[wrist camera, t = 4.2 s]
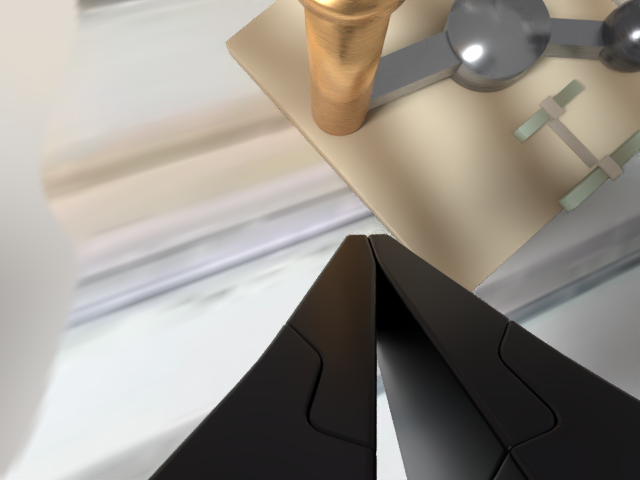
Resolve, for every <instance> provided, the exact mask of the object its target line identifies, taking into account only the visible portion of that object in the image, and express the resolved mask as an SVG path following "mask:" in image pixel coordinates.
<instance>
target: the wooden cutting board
mask: <svg viewBox="0 0 640 480" xmlns="http://www.w3.org/2000/svg"><path fill="white" fill-rule="evenodd" d="M542 1H543V2H544V4H545V5H546V7H547V9H548V12H549V15H550V18H563V19H580V20H597V21H604V20H605V18H606V17H607V16H608V15H609V14H610V13H611V12H612V11H613V10H614V9H616V8H617V7H618V5H617V4H615V3H614V2H613V1H612V0H542ZM454 2H455V0H405V1H404V3H403V4H402V5H401V6H400V7H399V8H398V9H397V10H396V11H394V12H393V13H392V14H391V17H390V21H389V25H388V29H387V33H386V37H385V41H384V46H383V50H382V54H381V57H383V56H386V55H388V54H390V53H393V52H395V51H398V50H400V49H402V48H405V47H407V46H410V45H412V44H414V43H417V42H419V41H422V40H424V39H426V38H429V37H431V36H433V35H436V34H438V33H440V32H441V30H442V27H443V25H444V23H445V21H446V19H447V16H448V14H449V12H450V10H451V8H452V5H453V3H454ZM225 43H226V46H227V48H228V50H229V53H230V55H231V56H232V57H233V58H234V59H235V60H236V61H237V62H238V63H239V65H240V66H241V67H242V68H243V69H244V70H245V71H246V72H247V73H248V75H249V76H250V77H251V78H252V79H253V80H254V81H255V82H256V83H257V85H258V86H259V87H260V88H261V89H262V90H263V91H264V92H265V94H266V95H267V96H268V97H269V98H270V99H271V100H272V101H273V102H274V104H275V105H276V106H277V107H278V108H279V109H280V110H281V111H282V112H283V114H284V115H285V116H286V117H287V118H288V119H289V120H290V121H291V122H292V124H293V125H294V126H295V127H296V128H297V129H298V130H299V131H300V132H301V134H302V135H303V136H304V137H305V138H306V139H307V140H308V141H309V143H310V144H311V145H312V146H313V147H314V148H315V149H316V150H317V151H318V153H319V154H320V155H321V156H322V157H323V158H324V159H325V160H326V161H327V163H328V164H329V165H330V166H331V167H332V168H333V169H334V170H335V171H336V173H337V174H338V175H339V176H340V177H341V178H342V179H343V180H344V181H345V183H346V184H347V185H348V186H349V187H350V188H351V189H352V190H353V191H354V193H355V194H356V195H357V196H358V197H359V198H360V199H361V200H362V202H363V203H364V204H365V205H366V206H367V207H368V208H369V209H370V210H371V212H372V213H373V214H374V215H375V216H376V217H377V218H378V219H379V220H380V222H381V223H382V224H383V225H384V226H385V227H386V228H387V229H388V230H389V232H390V233H391V234H392V235H393V236H394V237H395V238H396V239H397V240H398V242H399V243H401V244H402V245H404V246H405V247H407V248H408V249H409V250H411V251H412V252H414V253H415V254H417V255H418V256H419V257H421V258H422V259H424V260H425V261H427V262H428V263H430V264H431V265H432V266H434V267H435V268H437V269H438V270H440V271H441V272H442V273H444V274H445V275H447V276H448V277H450V278H451V279H453V280H454V281H455V282H457V283H458V284H460V285H461V286H463V287H464V288H465V289H467V290H468V291H470V292H472V291H473V290H474V289H475V288H476V287H477V286H478V285H479V284H480V283H482V282H483V281H484V280H485V279H486V278H487V277H488V276H489V275H490V274H492V273H493V272H494V271H495V270H496V269H497V268H498V267H499V266H500V265H501V264H503V263H504V262H505V261H506V260H507V259H508V258H509V257H510V256H511V255H513V254H514V253H515V252H516V251H517V250H518V249H519V248H520V247H521V246H522V245H524V244H525V243H526V242H527V241H528V240H529V239H530V238H531V237H532V236H534V235H535V234H536V233H537V232H538V231H539V230H540V229H541V228H542V227H543V226H545V225H546V224H547V223H548V222H549V221H550V220H551V219H552V218H553V217H555V216H556V215H557V214H558V213H559V212H560V211H561V210H562V209H564V210H565V211H566V212H567V211H570V210H574V209H575V208H576V207H577V206H578V205H580V204H581V203H582V202H583V201H584V200H585V199H586V198H587V197H588V196H590V195H591V194H592V193H593V192H594V191H595V190H596V189H597V188H598V187H599V186H601V185H602V184H603V183H604V182H605V181H606V180H607V179H608V178H609V177H610V178H611V179H612V180H615V179H616V178H617V177H618V176H620V175H621V174H622V173H623V172H624V171H623V170H622V169H621V168H620V167H621V166H623V165H624V164H625V163H626V162H627V161H628V160H629V159H630V158H631V157H632V156H634V155H635V154H636V153H637V152H638V151H639V150H640V71H639V72H634V73H621V72H616V71H613V70H611V69H609V68H608V67H606V66H605V65H604V64H603V63H602V62H601V61H600V60H592V59H576V58H559V57H542V56H540V57H539V58H538V59H537V60H536V61H535V62H534V64H533V65H532V66H531V67H530V68H529V69H528V70H527V71H526V72H525V73H524V74H523V75H522V76H521V77H520V78H519V79H518V80H517V81H516V82H515V83H514V84H512V85H511V86H509V87H507V88H505V89H503V90H500V91H496V92H489V93H482V92H475V91H471V90H469V89H466V88H464V87H462V86H460V85H458V84H457V83H456V82H454V81H453V80H452V79H451V78H450V77H449V76H448V77H446V78H443V79H441V80H439V81H436V82H434V83H432V84H429V85H427V86H425V87H422V88H420V89H417V90H415V91H413V92H410V93H408V94H406V95H403V96H401V97H399V98H396V99H394V100H391V101H389V102H387V103H384V104H382V105H380V106H377V107H375V108H373V109H370V110H368V111H367V115H366V118H365V121H364V122H363V124H362V125H361V127H360V128H359V129H358V130H356V131H355V132H353V133H351V134H349V135H345V136H333V135H330V134H327V133H325V132H324V131H322V130H321V129H320V128H319V127H318V126H317V125H316V123H315V121H314V119H313V116H312V111H311V97H310V83H309V69H308V55H307V41H306V27H305V13H304V7H303V6H302V5H301V3H300V2H299V1H298V0H277V1H276V2H275V3H273V4H272V5H271V6H270V7H268V8H267V9H266V10H265V11H263V12H262V13H261V14H260V15H258V16H257V17H256V18H255V19H253V20H252V21H251V22H250V23H248V24H247V25H246V26H245V27H244V28H242V29H241V30H240V31H239V32H237V33H236V34H235V35H234V36H232V37H231V38H230V39H229V40H227V41H226V42H225Z"/></svg>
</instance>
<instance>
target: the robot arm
mask: <svg viewBox="0 0 640 480" xmlns="http://www.w3.org/2000/svg"><path fill="white" fill-rule="evenodd" d="M377 359H378V363H379V367H380V371H381V376H382V380H383V384H384V388H385V392H386V396H387V400H388V404H389V408H390V412H391V416H392V420H393V424H394V428H395V432H396V436H397V440H398V444H399V448H400V452H401V456H402V460H403V464H404V468H405V472H406V476H407V480H640V400H638V399H637V398H635V397H633V396H631V395H630V394H628V393H626V392H625V391H623V390H621V389H620V388H618V387H616V386H614V385H613V384H611V383H609V382H608V381H606V380H604V379H603V378H601V377H599V376H598V375H596V374H594V373H593V372H591V371H590V370H588V369H586V368H585V367H583V366H581V365H580V364H578V363H576V362H575V361H573V360H572V359H570V358H568V357H567V356H565V355H563V354H562V353H560V352H559V351H557V350H556V349H554V348H553V347H551V346H550V345H548V344H547V343H545V342H544V341H542V340H541V339H539V338H538V337H536V336H535V335H533V334H532V333H530V332H529V331H527V330H526V329H524V328H523V327H521V326H520V325H519V324H517V323H516V322H514V321H510V322H509V319H508V318H507V317H506V316H504V315H503V314H501V313H500V312H499V311H497V310H496V309H494V308H493V307H491V306H490V305H488V304H487V303H486V302H484V301H483V300H481V299H480V298H478V297H477V296H476V295H474V294H473V293H471V292H470V291H468V290H467V289H465V288H464V287H463V286H461V285H460V284H458V283H457V282H455V281H454V280H453V279H451V278H450V277H448V276H447V275H445V274H444V273H442V272H441V271H440V270H438V269H437V268H435V267H434V266H432V265H431V264H430V263H428V262H427V261H425V260H424V259H422V258H421V257H419V256H418V255H417V254H415V253H414V252H412V251H411V250H409V249H408V248H407V247H405V246H404V245H402V244H401V243H399V242H398V241H396V240H395V239H394V238H392V237H391V236H389V235H387V234H376V235H369V236H368V237H367V236H366V235H348V236H346V238H345V239H344V241H343V242H342V243H341V245H340V246H339V248H338V249H337V251H336V252H335V253H334V255H333V256H332V258H331V259H330V261H329V262H328V263H327V265H326V266H325V268H324V269H323V271H322V272H321V273H320V275H319V276H318V278H317V279H316V281H315V282H314V284H313V285H312V286H311V288H310V289H309V291H308V292H307V294H306V295H305V296H304V298H303V299H302V301H301V302H300V304H299V305H298V306H297V308H296V309H295V311H294V312H293V314H292V315H291V316H290V318H289V319H288V321H287V322H286V325H284V326H283V327H282V328H281V330H280V331H279V333H278V334H277V335H276V337H275V338H274V340H273V341H272V342H271V344H270V345H269V346H268V348H267V349H266V350H265V352H264V353H263V354H262V355H261V357H260V358H259V359H258V361H257V362H256V363H255V364H254V365H253V366H252V367H251V369H250V370H249V371H248V372H247V373H246V374H245V375H244V377H243V378H242V379H241V380H240V381H239V382H238V383H237V384H236V386H235V387H234V388H233V389H232V390H231V391H230V392H229V393H228V394H227V395H226V396H225V397H224V398H223V400H222V401H221V402H220V403H219V404H218V405H217V406H216V407H215V408H214V409H213V410H212V411H211V412H210V413H209V415H208V416H207V417H206V418H205V419H204V420H203V421H202V422H201V423H200V424H199V425H198V426H197V427H196V428H195V430H194V431H193V432H192V433H191V434H190V435H189V436H188V437H187V438H186V439H185V440H184V441H183V442H182V444H181V445H180V446H179V447H178V448H177V449H176V450H175V451H174V452H173V453H172V454H171V455H170V456H169V457H168V459H167V460H166V461H165V462H164V463H163V464H162V465H161V466H160V467H159V468H158V469H157V470H156V471H155V472H154V474H153V475H152V476H151V477H150V478H149V479H148V480H377V456H376V452H377Z"/></svg>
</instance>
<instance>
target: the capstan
mask: <svg viewBox="0 0 640 480" xmlns="http://www.w3.org/2000/svg"><path fill="white" fill-rule="evenodd" d="M298 1H299V2H300V3H301V5H302V6H303V7H304V13H305V27H306V41H307V55H308V69H309V83H310V97H311V111H312V116H313V119H314V121H315V123H316V125H317V126H318V127H319V128H320V129H321V130H322V131H324V132H325V133H327V134H330V135H333V136H345V135H349V134H351V133H353V132H355V131H356V130H358V129H359V128H360V127H361V125H362V124H363V122H364V121H365V118H366V115H367V111H368V110H370V109H373V108H375V107H377V106H380V105H382V104H384V103H387V102H389V101H391V100H394V99H396V98H399V97H401V96H403V95H406V94H408V93H410V92H413V91H415V90H417V89H420V88H422V87H425V86H427V85H429V84H432V83H434V82H436V81H439V80H441V79H443V78H446V77H448V76H449V77H450V78H451V79H452V80H453V81H454V82H456V83H457V84H458V85H460V86H462V87H464V88H466V89H469V90H471V91H475V92H482V93H489V92H496V91H500V90H503V89H505V88H507V87H509V86H511V85H512V84H514V83H515V82H516V81H517V80H518V79H519V78H520V77H521V76H522V75H523V74H524V73H525V72H526V71H527V70H528V69H529V68H530V67H531V66H532V65H533V64H534V62H535V61H536V60H537V59H538V58H539V57H540V56H542V57H559V58H576V59H592V60H600V61H601V62H602V63H603V64H604V65H605V66H606V67H608V68H609V69H611V70H613V71H616V72H621V73H634V72H639V71H640V0H629V1H627V2H625V3H623V4H621V5H620V6H618V7H617V8H616V9H614V10H613V11H612V12H611V13H610V14H609V15H608V16H607V17H606V18H605V20H604V21H597V20H580V19H563V18H550V15H549V12H548V9H547V7H546V5H545V4H544V2H543V1H542V0H455V2H454V3H453V5H452V8H451V10H450V12H449V14H448V16H447V19H446V21H445V23H444V25H443V27H442V30H441V32H440V33H438V34H436V35H433V36H431V37H429V38H426V39H424V40H422V41H419V42H417V43H414V44H412V45H410V46H407V47H405V48H402V49H400V50H398V51H395V52H393V53H390V54H388V55H386V56H383V57H381V54H382V50H383V46H384V41H385V37H386V33H387V29H388V25H389V21H390V17H391V14H392V13H393V12H394V11H396V10H397V9H398V8H399V7H400V6H401V5H402V4H403V3H404V1H405V0H298Z"/></svg>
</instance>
